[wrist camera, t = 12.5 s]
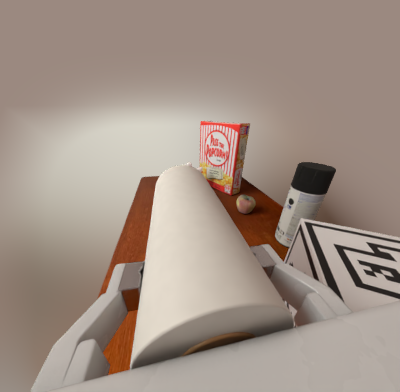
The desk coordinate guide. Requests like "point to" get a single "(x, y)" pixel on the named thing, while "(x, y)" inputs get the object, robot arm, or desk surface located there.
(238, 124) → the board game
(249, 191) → the desk surface
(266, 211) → the desk surface
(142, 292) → the paper towel roll
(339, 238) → the block
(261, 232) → the desk surface
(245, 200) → the apple
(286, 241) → the spray can
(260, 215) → the desk surface
